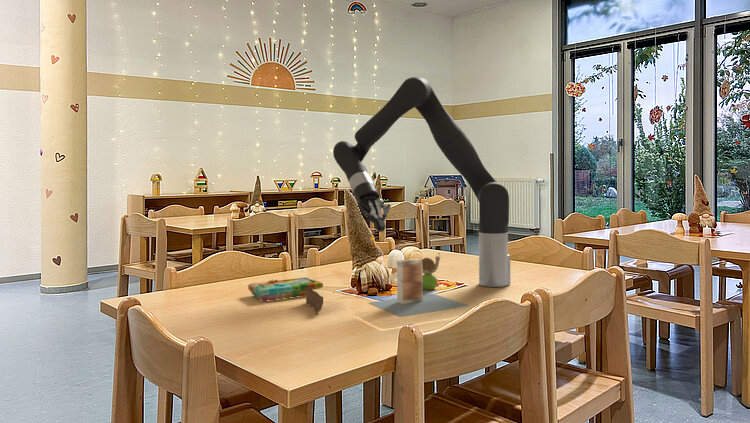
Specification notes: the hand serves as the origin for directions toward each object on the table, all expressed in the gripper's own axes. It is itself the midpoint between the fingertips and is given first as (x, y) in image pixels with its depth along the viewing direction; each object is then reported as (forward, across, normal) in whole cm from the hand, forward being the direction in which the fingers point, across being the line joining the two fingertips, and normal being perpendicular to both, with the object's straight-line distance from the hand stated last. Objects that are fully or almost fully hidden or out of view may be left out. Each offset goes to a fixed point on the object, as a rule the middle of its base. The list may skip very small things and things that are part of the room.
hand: (382, 229), depth 178 cm
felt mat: (+28, 0, 0) cm, 28 cm away
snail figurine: (+18, +14, +10) cm, 25 cm away
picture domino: (+25, 0, +2) cm, 25 cm away
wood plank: (+19, -26, +9) cm, 34 cm away
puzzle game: (+5, -27, +24) cm, 36 cm away
